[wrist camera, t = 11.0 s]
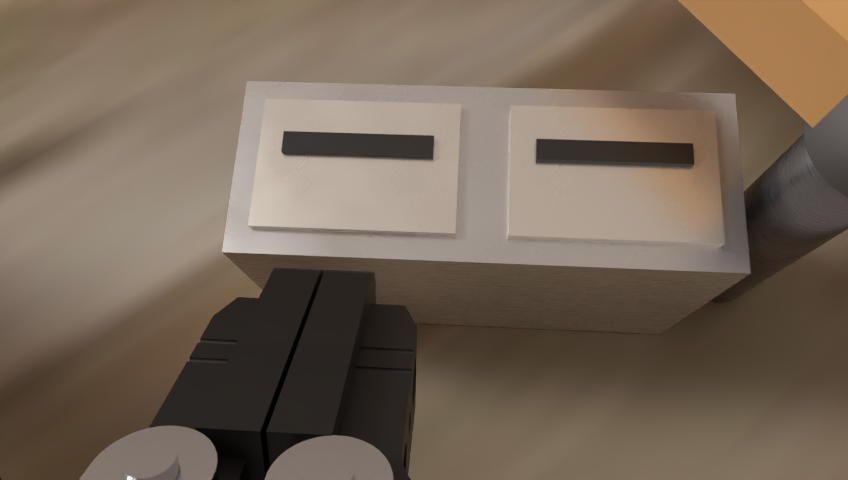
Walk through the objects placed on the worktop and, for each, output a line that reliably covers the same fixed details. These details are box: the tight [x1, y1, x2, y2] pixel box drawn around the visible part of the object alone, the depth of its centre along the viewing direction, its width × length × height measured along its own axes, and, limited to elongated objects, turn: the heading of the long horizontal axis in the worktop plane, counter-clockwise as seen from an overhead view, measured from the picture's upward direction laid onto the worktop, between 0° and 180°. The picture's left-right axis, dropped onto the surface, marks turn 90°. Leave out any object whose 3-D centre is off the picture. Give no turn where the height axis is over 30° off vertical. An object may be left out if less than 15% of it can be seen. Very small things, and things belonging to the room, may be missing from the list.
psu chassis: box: [222, 81, 848, 334], centre depth 26 cm, size 20×6×12 cm, turn 87°
